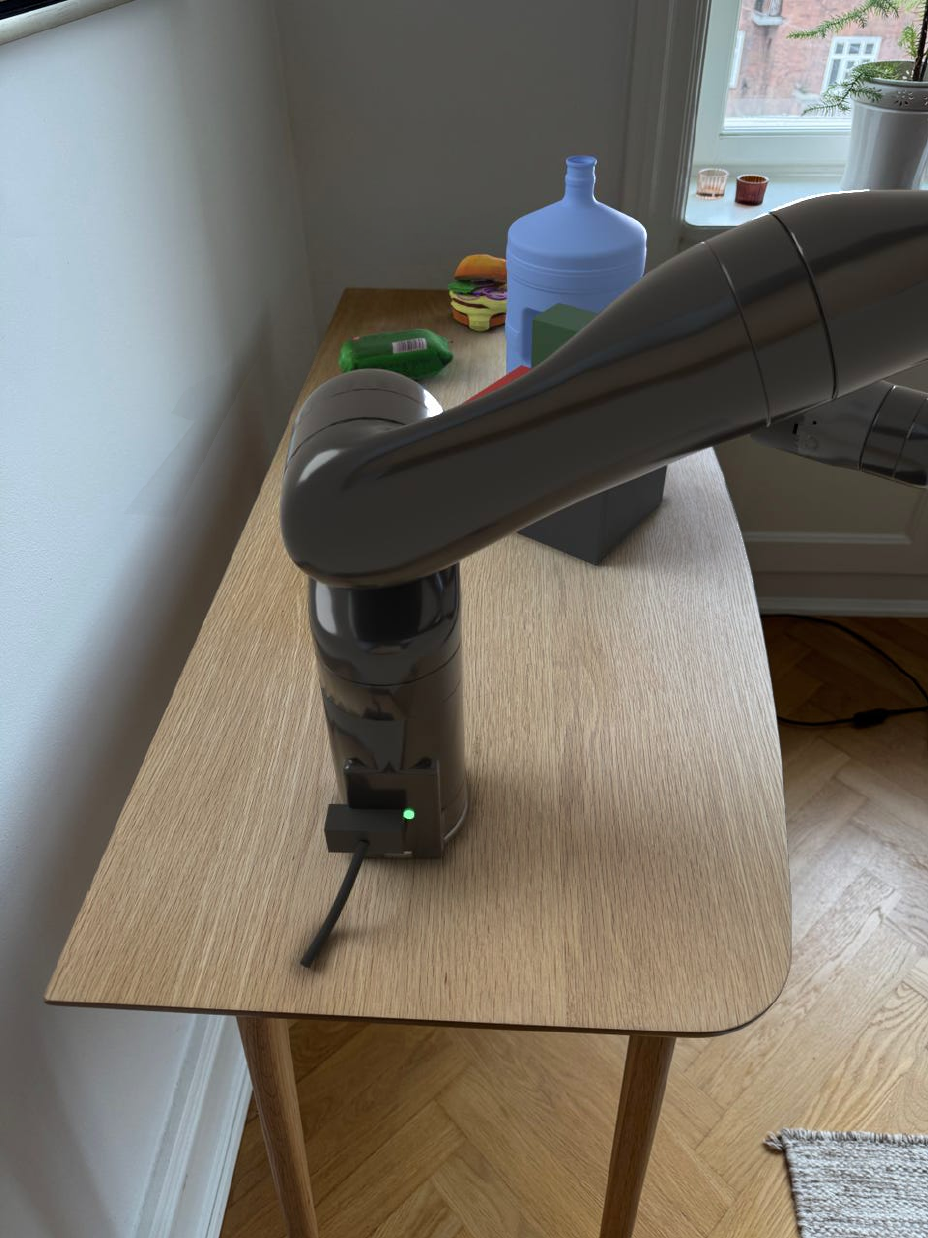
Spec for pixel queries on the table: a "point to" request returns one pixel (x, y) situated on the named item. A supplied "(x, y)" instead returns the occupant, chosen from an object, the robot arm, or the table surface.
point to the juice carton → (556, 329)
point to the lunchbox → (600, 518)
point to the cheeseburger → (480, 292)
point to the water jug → (568, 258)
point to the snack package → (398, 353)
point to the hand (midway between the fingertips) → (644, 361)
